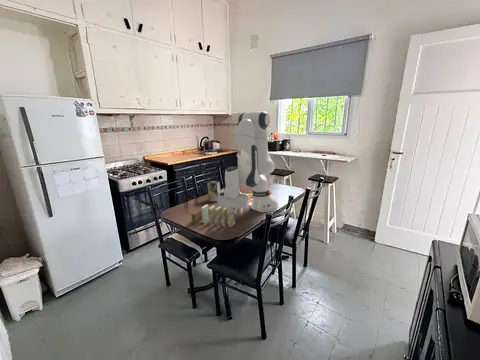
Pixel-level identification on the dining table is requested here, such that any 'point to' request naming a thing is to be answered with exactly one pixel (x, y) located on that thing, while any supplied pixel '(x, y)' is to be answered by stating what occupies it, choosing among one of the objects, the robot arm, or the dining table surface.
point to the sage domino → (205, 213)
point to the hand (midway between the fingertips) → (233, 213)
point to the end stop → (197, 216)
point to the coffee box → (213, 190)
